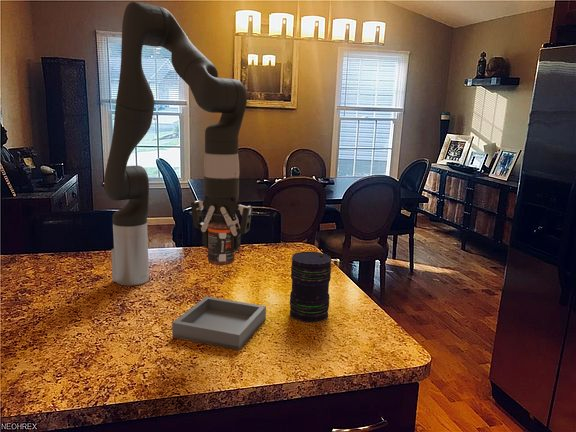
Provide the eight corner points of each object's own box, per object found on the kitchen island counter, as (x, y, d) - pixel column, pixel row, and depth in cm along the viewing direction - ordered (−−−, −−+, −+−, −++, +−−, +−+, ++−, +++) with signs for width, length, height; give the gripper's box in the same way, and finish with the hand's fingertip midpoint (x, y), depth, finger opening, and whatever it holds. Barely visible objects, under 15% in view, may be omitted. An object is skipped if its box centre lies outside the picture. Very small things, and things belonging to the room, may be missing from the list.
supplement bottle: (229, 267, 102) (229, 216, 99) (203, 265, 103) (203, 214, 100) (237, 259, 107) (238, 211, 105) (213, 257, 108) (213, 209, 106)
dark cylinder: (301, 325, 111) (303, 266, 108) (282, 309, 119) (284, 254, 116) (336, 318, 116) (339, 261, 112) (315, 303, 124) (318, 249, 121)
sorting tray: (172, 337, 103) (172, 322, 103) (206, 309, 118) (206, 296, 117) (239, 350, 99) (239, 335, 98) (265, 319, 114) (265, 306, 113)
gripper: (182, 173, 99) (184, 249, 103) (245, 179, 95) (244, 258, 99) (199, 170, 106) (200, 241, 110) (259, 174, 102) (257, 248, 106)
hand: (221, 248), depth 104 cm, fingers closed on supplement bottle, 6 cm apart
